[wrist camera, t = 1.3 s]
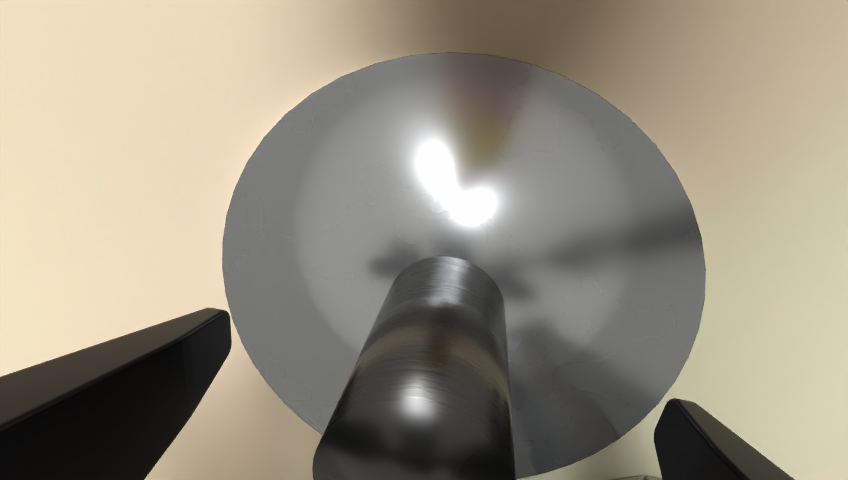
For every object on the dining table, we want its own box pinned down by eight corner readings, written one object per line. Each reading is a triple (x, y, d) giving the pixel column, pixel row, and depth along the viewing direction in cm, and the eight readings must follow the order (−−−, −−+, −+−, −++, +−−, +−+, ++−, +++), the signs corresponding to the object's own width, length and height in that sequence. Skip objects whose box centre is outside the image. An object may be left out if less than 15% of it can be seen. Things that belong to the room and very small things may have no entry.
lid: (779, 95, 9) (1242, 134, 3) (607, 494, 13) (686, 778, 8) (227, 21, 10) (-94, -42, 4) (246, 416, 14) (101, 621, 9)
